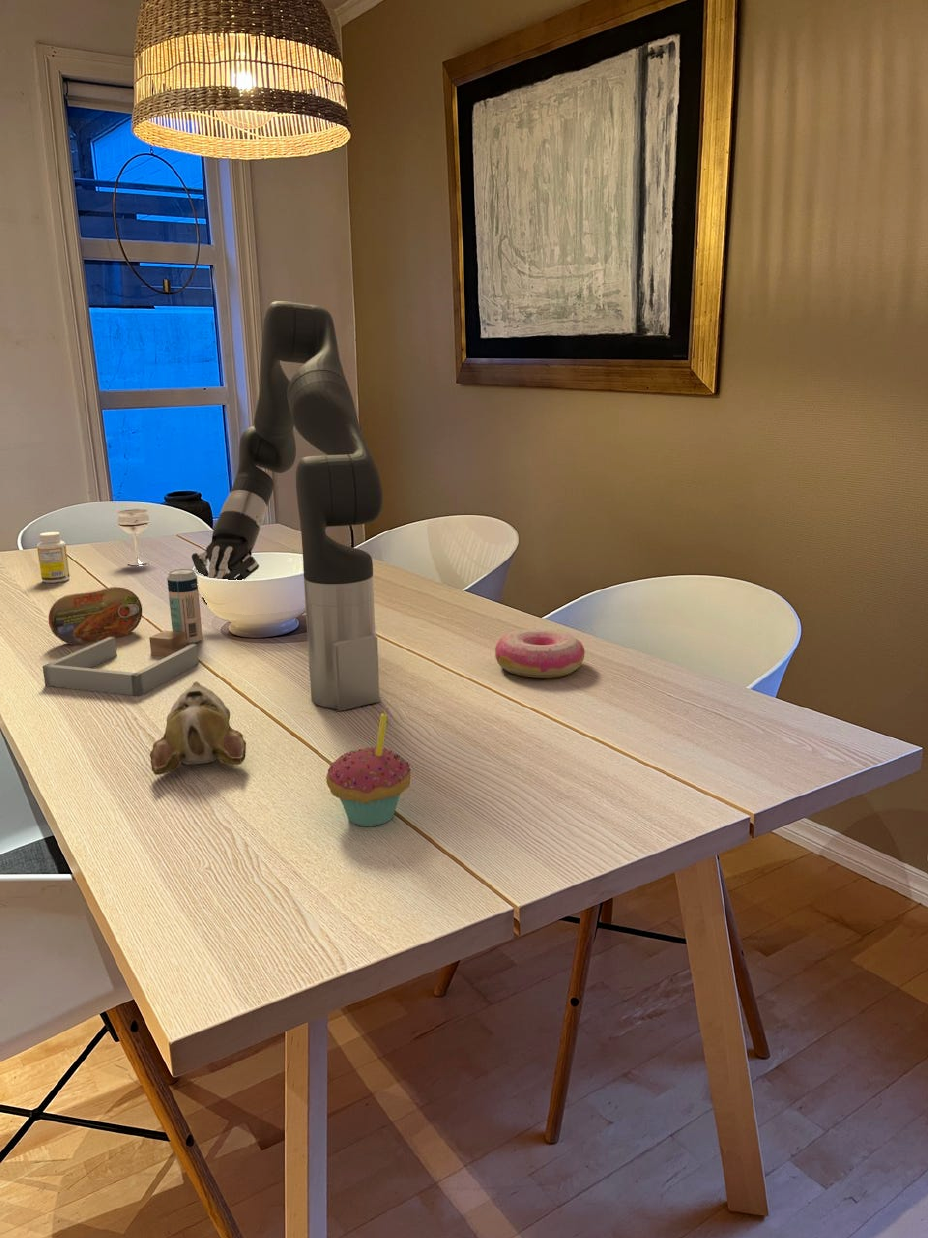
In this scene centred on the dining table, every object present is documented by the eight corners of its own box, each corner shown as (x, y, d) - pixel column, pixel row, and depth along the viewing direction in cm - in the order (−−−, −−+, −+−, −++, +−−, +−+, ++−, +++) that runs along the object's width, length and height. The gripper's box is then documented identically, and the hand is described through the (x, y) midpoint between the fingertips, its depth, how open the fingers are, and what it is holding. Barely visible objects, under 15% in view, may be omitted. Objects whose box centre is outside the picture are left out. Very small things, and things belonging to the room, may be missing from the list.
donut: (579, 686, 134) (580, 653, 133) (487, 681, 137) (487, 648, 136) (587, 657, 147) (587, 626, 146) (502, 653, 150) (502, 622, 148)
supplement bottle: (55, 576, 205) (48, 530, 202) (75, 578, 203) (69, 531, 201) (36, 582, 200) (29, 535, 197) (56, 584, 198) (50, 536, 196)
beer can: (207, 637, 159) (201, 568, 156) (197, 646, 155) (190, 574, 152) (180, 637, 160) (173, 568, 157) (169, 645, 155) (161, 574, 152)
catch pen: (111, 654, 151) (109, 636, 150) (198, 663, 146) (197, 644, 146) (45, 685, 137) (42, 666, 136) (139, 696, 133) (136, 675, 132)
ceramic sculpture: (238, 664, 118) (243, 714, 104) (245, 727, 120) (249, 784, 107) (149, 673, 115) (141, 726, 101) (157, 738, 118) (151, 797, 104)
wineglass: (160, 562, 218) (154, 510, 215) (136, 567, 213) (130, 514, 210) (140, 559, 222) (134, 508, 219) (116, 564, 216) (110, 512, 213)
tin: (55, 649, 154) (48, 599, 152) (49, 645, 157) (42, 596, 154) (145, 632, 164) (140, 584, 161) (138, 628, 166) (133, 581, 164)
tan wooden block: (166, 648, 155) (164, 630, 154) (187, 650, 154) (185, 632, 153) (151, 655, 151) (149, 637, 150) (172, 657, 150) (170, 639, 149)
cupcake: (412, 796, 102) (409, 691, 98) (411, 835, 93) (407, 722, 90) (332, 798, 101) (326, 693, 98) (323, 838, 93) (317, 724, 90)
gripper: (198, 507, 169) (165, 590, 161) (264, 510, 165) (233, 595, 157) (217, 531, 176) (185, 612, 168) (281, 534, 172) (252, 617, 164)
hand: (209, 604), depth 163 cm, fingers closed
